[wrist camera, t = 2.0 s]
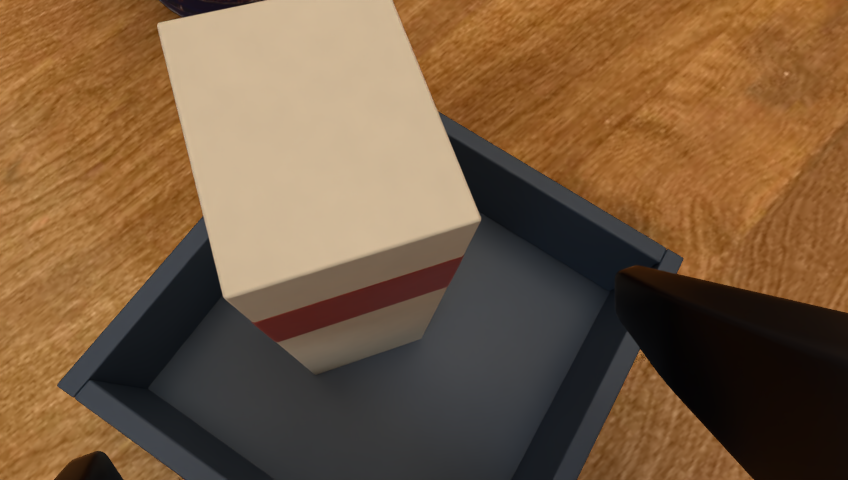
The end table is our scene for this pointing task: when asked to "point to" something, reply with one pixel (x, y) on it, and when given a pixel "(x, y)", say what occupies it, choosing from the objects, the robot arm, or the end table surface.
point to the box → (391, 356)
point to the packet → (320, 172)
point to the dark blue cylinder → (202, 5)
